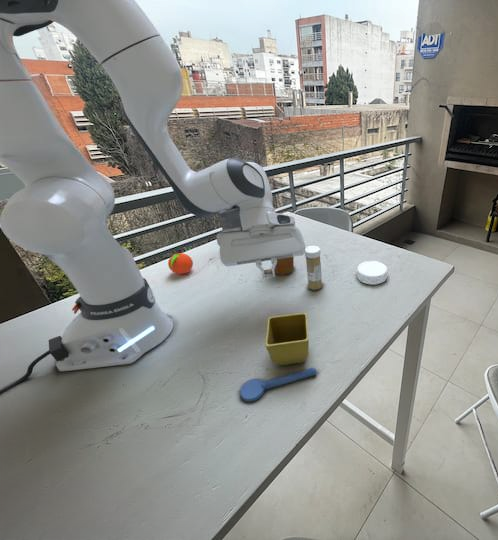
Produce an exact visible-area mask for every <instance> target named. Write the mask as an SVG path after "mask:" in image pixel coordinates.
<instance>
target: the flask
mask: <svg viewBox="0 0 498 540" xmlns="http://www.w3.org/2000/svg"><path fill="white" fill-rule="evenodd" d="M217 215H218V219H219V222H220V225H221V226H220V227H221V231H222V230H223V229H232V228H239V227H241V221H240V206H238V205H234V206H232V207H229V208H226V209H224V210H221V211H220V212H218V213H217Z"/></svg>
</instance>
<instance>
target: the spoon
mask: <svg viewBox="0 0 498 540" xmlns="http://www.w3.org/2000/svg"><path fill="white" fill-rule="evenodd" d="M316 374H317V369H316V368H315V367H310V368H306V369H303V370H299V371H296V372H292V373H288V374H285V375H282V376H278V377H275V378H272V379H268V380H265V381H263V380H262V379H259V378H253V379H249V380H247V381H246V382H245V383H243V384H242V386H241V387H240V392H239V394H240V396H241V399H242V400H243V401H244V402H247V403H249V402H250V403H251V402H255V401H258V400H259V399H260V398H261V397H262V396H263V395H264V393H265V390H268V389H272V388H275V387H276V388H277V387H279V386H283V385H287V384H290V383H292V382H296V381H299V380H302V379H306V378H309V377H313V376H315V375H316Z"/></svg>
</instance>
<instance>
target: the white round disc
mask: <svg viewBox="0 0 498 540" xmlns="http://www.w3.org/2000/svg"><path fill="white" fill-rule="evenodd" d="M356 276H357V279H358V280H359V281H360V282H361V283H363V284H366V285H372V286H374V285H380V284H383V283H384V282H385V281H386V280H387V278H388V267H387V266H386V265H385V264H384V263H383V262H381V261H377V260H366V261H363V262H361V263H359V264H358V265H357V268H356Z"/></svg>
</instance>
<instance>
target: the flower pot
mask: <svg viewBox="0 0 498 540" xmlns="http://www.w3.org/2000/svg"><path fill="white" fill-rule="evenodd" d="M308 325H309V324H308V313H307V312H301V313H299V312H298V313H293V314H292V313H291V314H284V315H275V316H274V315H273V316H269V317H268V318H267V325H266V335H265V336H266V337H265V343H264V344H265V345H264V346H265V348H266V350H267V353H268V355H269V357H270V359H271V361H272V362H273V363H274V364H277V365H279V366H286V365H287V366H289V365H294V364H301V363H303V362H305V360H307V358H308V355H309V346H310V345H309V344H310V343H309V342H310V341H309V340H310V339H309V338H310V337H309V326H308Z"/></svg>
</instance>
